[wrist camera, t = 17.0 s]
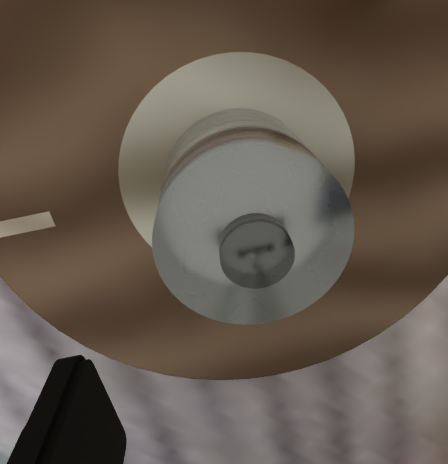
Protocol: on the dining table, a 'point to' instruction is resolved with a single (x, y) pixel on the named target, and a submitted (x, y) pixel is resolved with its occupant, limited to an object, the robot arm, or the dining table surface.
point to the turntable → (176, 123)
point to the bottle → (249, 220)
